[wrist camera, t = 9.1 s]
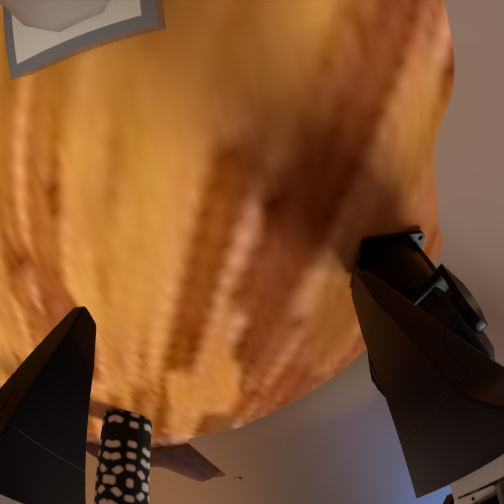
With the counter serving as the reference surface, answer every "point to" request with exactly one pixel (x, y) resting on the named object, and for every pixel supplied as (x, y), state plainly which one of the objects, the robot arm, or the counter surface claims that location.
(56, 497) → the robot arm
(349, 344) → the counter surface
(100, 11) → the flask
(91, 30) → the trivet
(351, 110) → the counter surface
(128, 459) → the white-spotted black cylinder
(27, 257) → the counter surface
